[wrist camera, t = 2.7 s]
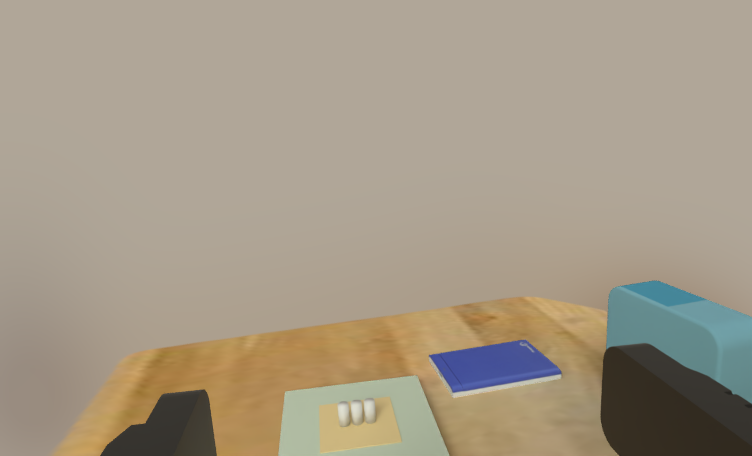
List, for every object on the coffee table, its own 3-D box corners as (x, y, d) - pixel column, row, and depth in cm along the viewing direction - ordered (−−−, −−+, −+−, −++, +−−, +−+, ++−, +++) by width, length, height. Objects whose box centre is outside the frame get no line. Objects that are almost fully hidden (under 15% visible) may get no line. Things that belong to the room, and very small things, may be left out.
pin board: (417, 387, 52) (416, 357, 52) (453, 480, 39) (452, 441, 38) (286, 404, 51) (283, 373, 50) (276, 507, 37) (271, 466, 37)
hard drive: (524, 337, 60) (428, 353, 58) (561, 369, 52) (452, 388, 50) (524, 349, 60) (429, 365, 58) (561, 382, 53) (453, 402, 50)
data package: (753, 462, 39) (771, 323, 36) (707, 475, 38) (722, 332, 35) (640, 386, 50) (647, 275, 48) (602, 394, 49) (607, 282, 47)
